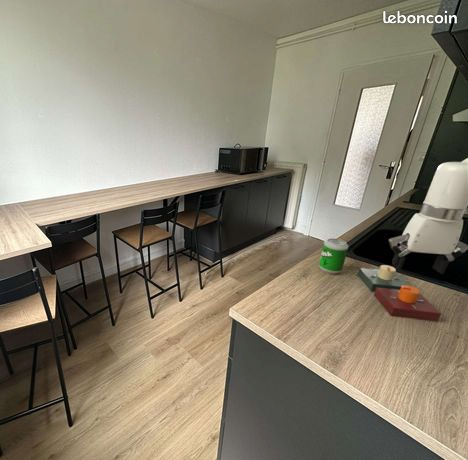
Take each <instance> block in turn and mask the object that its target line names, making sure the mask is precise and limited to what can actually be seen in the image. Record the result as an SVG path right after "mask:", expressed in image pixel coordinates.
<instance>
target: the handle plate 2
mask: <svg viewBox="0 0 468 460" xmlns="http://www.w3.org/2000/svg"><path fill="white" fill-rule="evenodd" d="M399 292H400V290H396V289H386V288H376V290H375V292H374V293H373V296H374V297H375V299H376V300H377V301H378V302H379V303H380V304H381V306H382V307H383V308H384V309H385V311H386V312H387V313H388V314H389V315H390V316H391V317H396V318H403V319H412V320H421V321H429V322H435V323H436V322H437V323H438V321H439V320H440V317H441V315H442V312H441V311H440V310H439V309H437V307H435V306H434V305H433V304H432V303H431V302H430V301H428V299H427V298H425V296H423V295H422V294H421V293H420V294H419V296H418V298H417V301H416V303H407V302H404V301H402V300H400V299H399V298H398V294H399Z"/></svg>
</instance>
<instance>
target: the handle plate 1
mask: <svg viewBox="0 0 468 460" xmlns="http://www.w3.org/2000/svg"><path fill="white" fill-rule="evenodd" d="M378 272H379V269H374V268H365V267H363V268H362V267H359V269H358V272H357V276H358V278H359V279H360V280H361V281H362V282H363V284H364V286H366V288H367V289H368V290H369V291H370V292H374V293H375V290H376V288H386V289H396V290H400V289H401V287H402V286H403V285H407V286H412V285H411V283H410V282H408V281H407V280H406V279H405V278H404V277H403V276H401V275H400V274H399V273H398V272H397V270H396V271H395V274H394V277H393V279H392V280H384V279H381V278H379V277H378V276H377V275H378Z"/></svg>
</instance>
